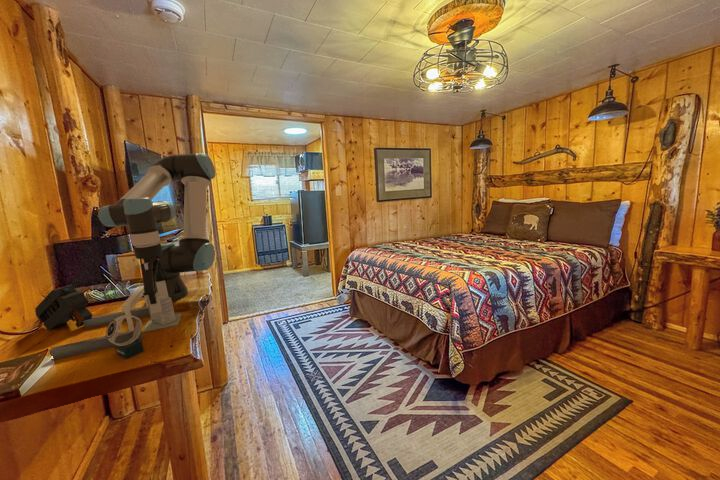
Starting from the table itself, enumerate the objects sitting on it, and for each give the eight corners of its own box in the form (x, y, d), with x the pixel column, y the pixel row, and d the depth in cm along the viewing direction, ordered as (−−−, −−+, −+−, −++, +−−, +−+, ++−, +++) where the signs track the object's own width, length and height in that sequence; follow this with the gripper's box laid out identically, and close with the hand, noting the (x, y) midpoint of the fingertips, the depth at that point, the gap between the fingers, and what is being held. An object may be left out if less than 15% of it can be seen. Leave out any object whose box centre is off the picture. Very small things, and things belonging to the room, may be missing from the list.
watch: (108, 358, 82) (99, 321, 80) (140, 344, 89) (133, 309, 87) (118, 363, 79) (108, 325, 77) (150, 348, 86) (143, 312, 84)
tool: (81, 321, 100) (53, 285, 99) (52, 347, 105) (25, 313, 104) (100, 313, 106) (73, 279, 105) (72, 338, 111) (46, 306, 110)
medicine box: (176, 320, 103) (171, 297, 101) (162, 326, 99) (157, 301, 98) (164, 316, 107) (160, 294, 106) (151, 322, 103) (146, 298, 102)
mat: (181, 314, 110) (181, 313, 109) (177, 324, 101) (177, 323, 100) (149, 320, 106) (149, 319, 106) (142, 332, 97) (142, 331, 97)
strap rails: (157, 312, 113) (155, 304, 113) (141, 339, 92) (139, 330, 91) (87, 326, 105) (85, 318, 104) (51, 360, 83) (48, 350, 83)
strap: (152, 304, 112) (148, 282, 111) (136, 330, 91) (130, 303, 89) (145, 305, 111) (140, 283, 110) (126, 332, 90) (120, 305, 89)
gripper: (142, 240, 108) (155, 295, 112) (121, 254, 85) (138, 322, 90) (166, 237, 111) (178, 291, 115) (152, 250, 88) (167, 316, 93)
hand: (160, 305), depth 102 cm, fingers open, 13 cm apart
